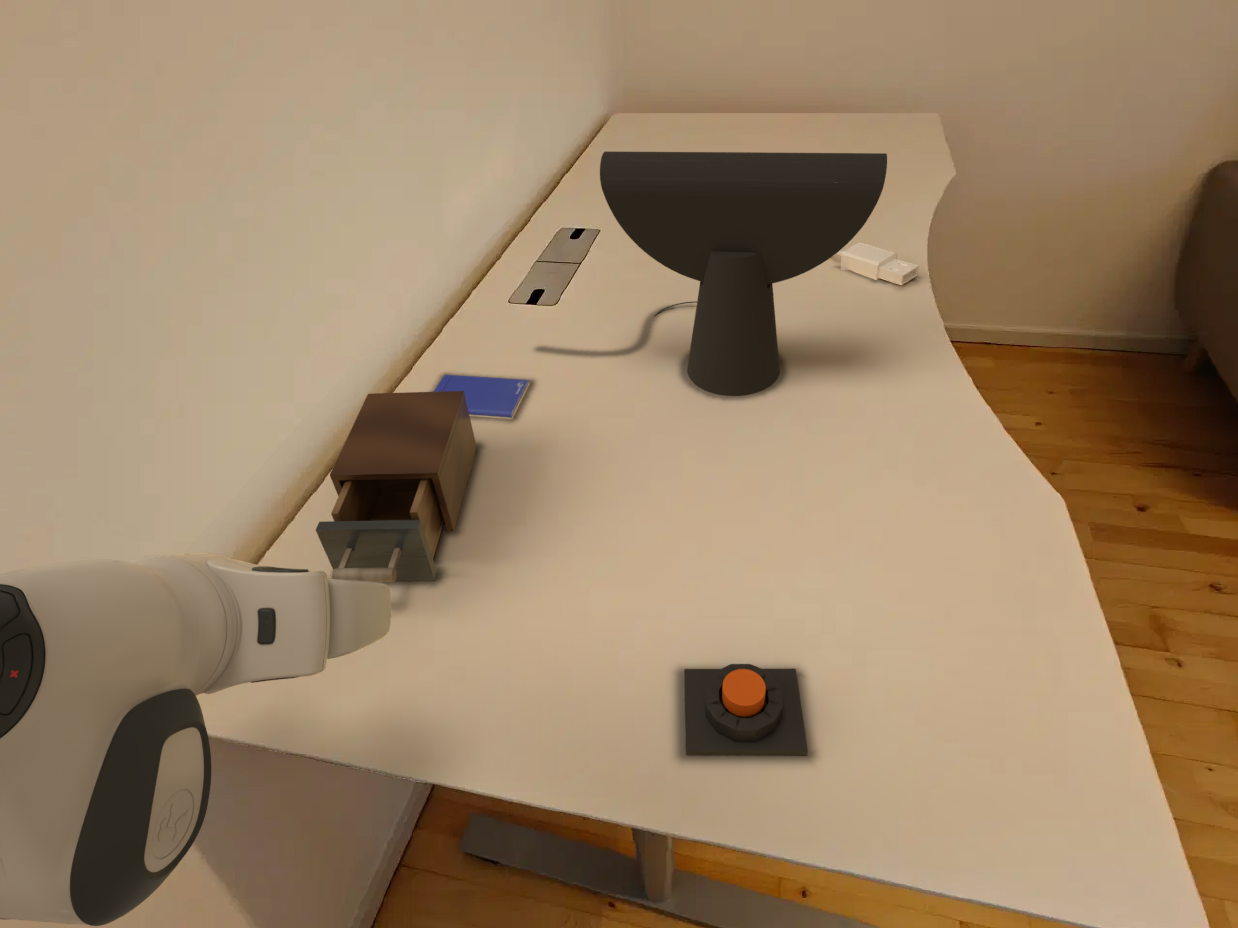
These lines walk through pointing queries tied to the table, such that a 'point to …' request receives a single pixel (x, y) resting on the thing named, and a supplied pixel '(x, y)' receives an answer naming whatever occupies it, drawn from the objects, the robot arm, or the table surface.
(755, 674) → the button
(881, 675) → the table surface
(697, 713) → the block
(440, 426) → the cabinet
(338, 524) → the drawer
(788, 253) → the table lamp
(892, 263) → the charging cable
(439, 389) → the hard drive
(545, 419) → the table surface
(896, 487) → the table surface
